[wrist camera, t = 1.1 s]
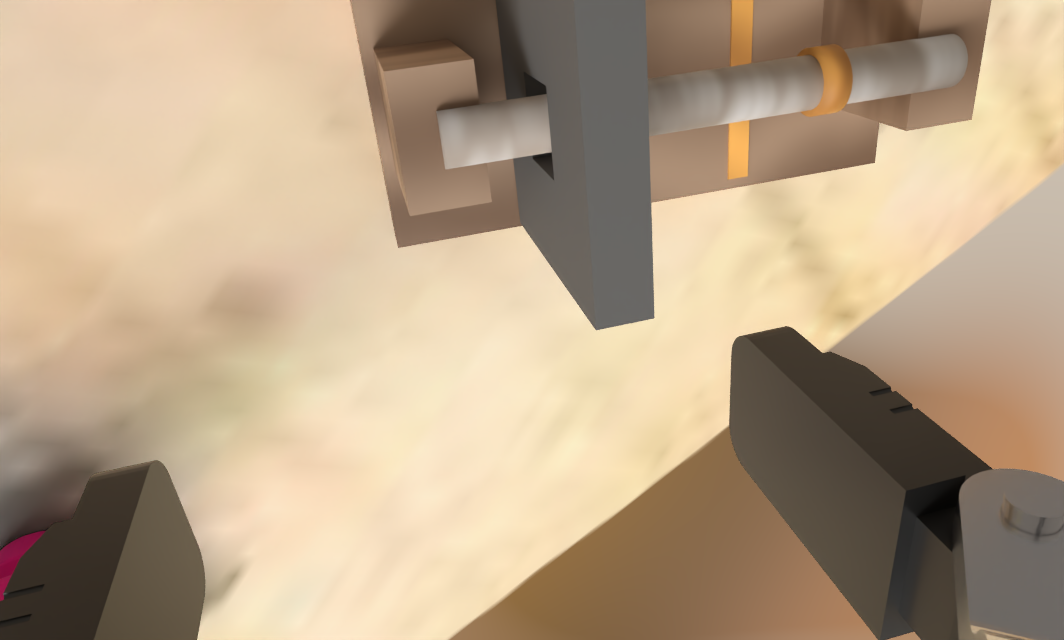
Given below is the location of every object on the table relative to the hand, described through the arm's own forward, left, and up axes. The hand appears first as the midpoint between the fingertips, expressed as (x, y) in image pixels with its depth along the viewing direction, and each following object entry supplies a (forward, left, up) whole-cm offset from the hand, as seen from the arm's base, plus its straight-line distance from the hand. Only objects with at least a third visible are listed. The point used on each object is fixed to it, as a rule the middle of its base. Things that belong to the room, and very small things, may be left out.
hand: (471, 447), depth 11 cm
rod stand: (0, +12, -26) cm, 28 cm away
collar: (0, +6, -23) cm, 24 cm away
